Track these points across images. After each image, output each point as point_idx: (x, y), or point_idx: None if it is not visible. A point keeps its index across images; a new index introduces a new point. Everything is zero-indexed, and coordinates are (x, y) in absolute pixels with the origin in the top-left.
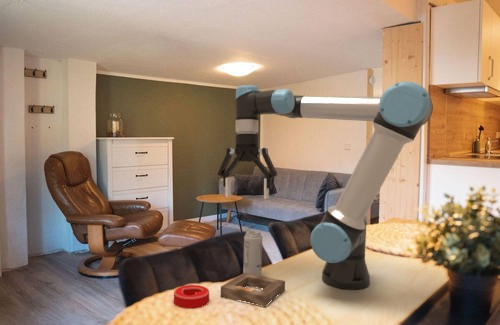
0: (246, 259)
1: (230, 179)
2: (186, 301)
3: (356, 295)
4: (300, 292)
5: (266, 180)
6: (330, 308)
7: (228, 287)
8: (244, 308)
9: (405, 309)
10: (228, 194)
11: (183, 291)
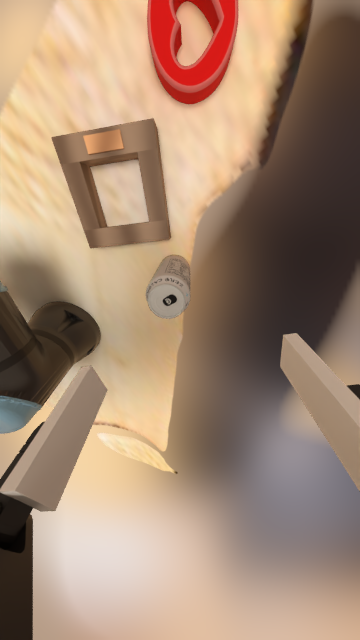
0: (174, 262)
1: (349, 469)
2: None
3: (26, 291)
4: (78, 254)
5: (14, 474)
6: (7, 223)
7: (137, 127)
8: (85, 106)
9: None
10: (289, 353)
11: (217, 19)
